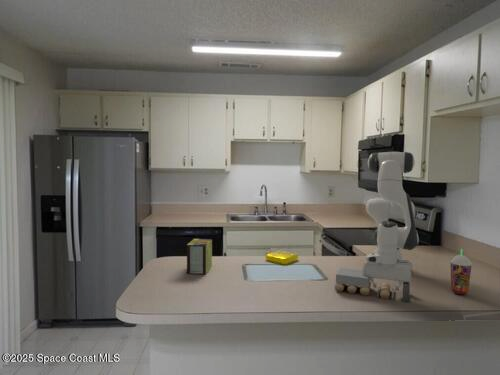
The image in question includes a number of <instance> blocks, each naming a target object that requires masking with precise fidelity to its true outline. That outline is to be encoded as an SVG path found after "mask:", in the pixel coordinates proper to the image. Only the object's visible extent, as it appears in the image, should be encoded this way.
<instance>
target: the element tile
mask: <svg viewBox="0 0 500 375" xmlns="http://www.w3.org/2000/svg"><path fill="white" fill-rule="evenodd" d="M265 261H266V262H271V263H275V264H279V265H284V266H286V265H290V264H292V263H294V262H297V261H299V255H298V253H295V252H294V253H293V252H290V251H284V250H275V251H273V252H270V253H266V254H265Z"/></svg>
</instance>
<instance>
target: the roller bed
mask: <svg viewBox="0 0 500 375" xmlns="http://www.w3.org/2000/svg"><path fill="white" fill-rule="evenodd" d="M346 285H347V284H340V283H336V284H335V286H334V290H335V291H336V292H337V293H342V292H343V291H344V289H345V287H346ZM358 287H359V286H354V285H347V288H346V289H347V292H348V293H349V294H350V295H355V294H356V293H357V292H356V291H357V290H358ZM371 287H372V282H371V281H370V283H369V287H361V286H360V289H359V292H360V295H361V296H363V297H366V296H368V295H369V294H370V290H371ZM377 287H378V289H377V293H376V298H377V299H379V297H380V292H381V287H380V286H377ZM394 297H395V289H394V288H392V290H391V301H394V299H395V298H394Z"/></svg>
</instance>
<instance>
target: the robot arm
mask: <svg viewBox="0 0 500 375" xmlns="http://www.w3.org/2000/svg"><path fill="white" fill-rule="evenodd" d="M415 162H416V161H415V157H414V155H413V153H411V152H407V151H405V152H403V151H401V152H400V151H385V152H384V151H383V152H382V151H381V152H378V151H377V152H373V153H371V154H370V155H369V157H368V160H367V167H368V169H369V171H370V172H371V173H375V174H377V173H378V175H377V193H378V195H379V196H380V197H375V198H371V199H368V200H367V202H366V203H365V204H366V205H365V211H366V213H367V215H369V216H370V217H371V218H372V219H373V220H374V222H375V223H376V229H375V230H374V243H375V244H376V247H377V248H376V249H375V250H374V251H373V253H368V254H366V256H365V261H364V264H363V268H362V270H363V273H362V274H363V275H366V276H369V277H371V280H370V282H371V284H372V288H376V289H377V287H378V286H377V285H378V284H377V282H375V281H374V280H375V279H379V280H387V281H395V282H397V281H398V285H395V289H394V291H397V292H399V291H400V287H401V286H403V282H409V283H410V282H411V281H412V272H411V271H412V270H413V263H412V262H411V261H409V260H407V259H406V260H404V259H403V253H402V252H401V251H400V250H405V251H412V250H414V249H415V248H416V247H418V246H419V245H418V244H419V242H420V241H419V234H418V231H417V229H416V228H417V227H416V223H415V222H416V221H415V216H414V214H415V212H416V211H415V210H416V209H415V208H416V207H415V204H414V202H412V200H411V197H410V195H409V193H407V192H406V191H405V190H404V187H403V173H404V174H408V173H411V172H412V171H413V169H414V167H415ZM389 219H401V220H402V219H404V224H405V226H402V227H399V226H398V223H396V222H394V221H390V220H389Z"/></svg>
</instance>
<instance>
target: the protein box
mask: <svg viewBox="0 0 500 375" xmlns="http://www.w3.org/2000/svg"><path fill="white" fill-rule="evenodd" d="M212 256H213V239H210V238H208V239H207V238H193V239H192V240H190V242H188V243H187V244H186V274H190V275H207V273H208V272H209V270H211V268H212V267H213V266H212V265H213V257H212Z"/></svg>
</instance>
